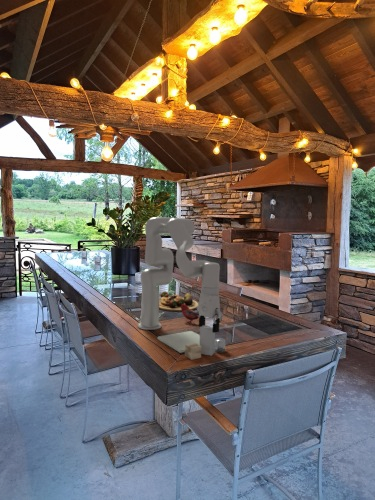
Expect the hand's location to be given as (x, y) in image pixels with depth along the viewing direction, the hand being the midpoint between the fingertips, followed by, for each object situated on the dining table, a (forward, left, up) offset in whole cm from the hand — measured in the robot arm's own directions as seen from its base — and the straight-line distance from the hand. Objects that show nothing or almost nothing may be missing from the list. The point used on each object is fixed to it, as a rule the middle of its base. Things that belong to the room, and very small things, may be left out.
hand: (208, 329), depth 157 cm
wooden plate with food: (-79, +34, -12) cm, 86 cm away
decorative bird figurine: (-41, +21, -12) cm, 47 cm away
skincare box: (-1, 0, -12) cm, 12 cm away
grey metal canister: (-1, +7, -11) cm, 14 cm away
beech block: (-1, -8, -11) cm, 14 cm away
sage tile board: (-17, 0, -11) cm, 20 cm away
